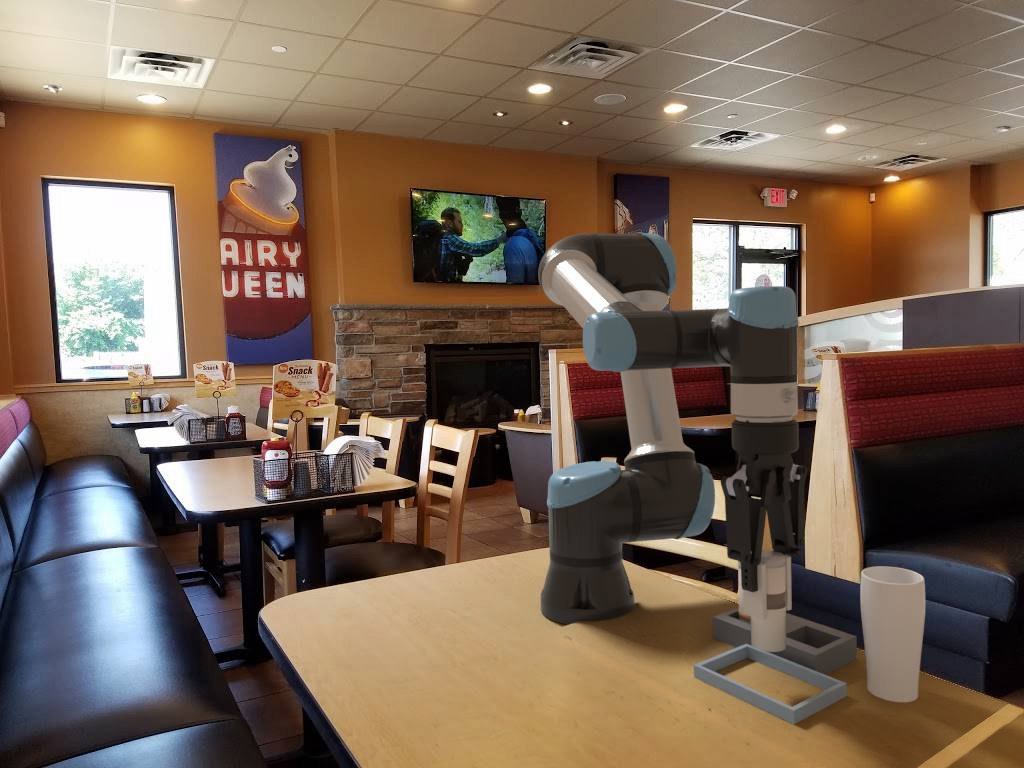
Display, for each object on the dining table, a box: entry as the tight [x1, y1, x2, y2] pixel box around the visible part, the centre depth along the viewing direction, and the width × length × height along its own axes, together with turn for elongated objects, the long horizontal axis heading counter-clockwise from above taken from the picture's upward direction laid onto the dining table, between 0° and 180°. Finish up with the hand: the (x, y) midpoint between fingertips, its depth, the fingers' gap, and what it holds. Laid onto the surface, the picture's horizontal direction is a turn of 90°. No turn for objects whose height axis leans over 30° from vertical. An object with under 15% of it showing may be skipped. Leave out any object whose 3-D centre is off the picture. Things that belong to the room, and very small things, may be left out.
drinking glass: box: [859, 565, 926, 703], centre depth 86 cm, size 7×7×15 cm
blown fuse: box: [751, 549, 787, 652], centre depth 88 cm, size 4×4×11 cm
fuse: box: [737, 561, 751, 624], centre depth 102 cm, size 4×4×11 cm
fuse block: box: [712, 606, 858, 675], centre depth 99 cm, size 16×9×4 cm, turn 34°
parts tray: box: [693, 644, 848, 725], centre depth 89 cm, size 14×10×2 cm
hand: (767, 611), depth 88 cm, fingers closed on blown fuse, 4 cm apart
